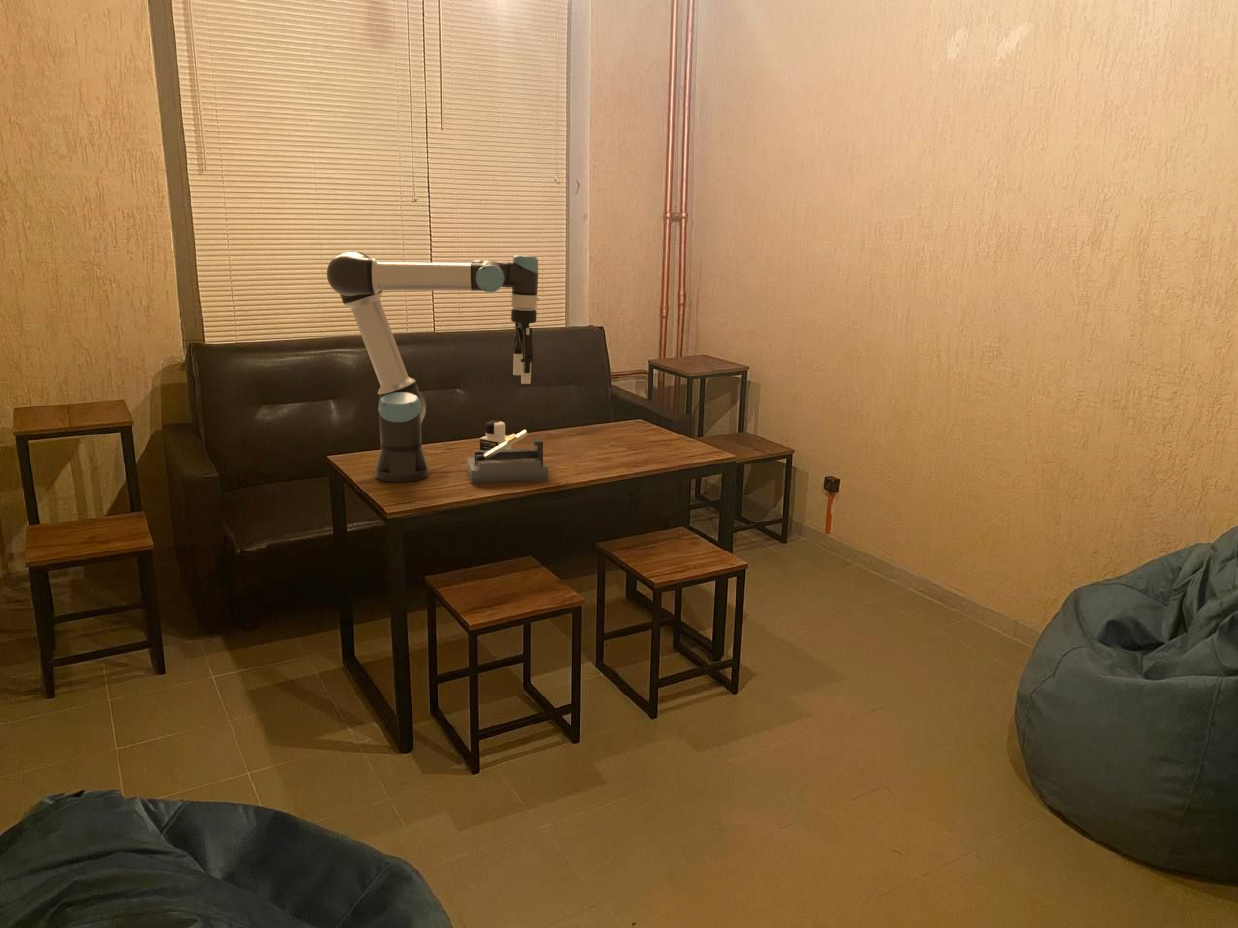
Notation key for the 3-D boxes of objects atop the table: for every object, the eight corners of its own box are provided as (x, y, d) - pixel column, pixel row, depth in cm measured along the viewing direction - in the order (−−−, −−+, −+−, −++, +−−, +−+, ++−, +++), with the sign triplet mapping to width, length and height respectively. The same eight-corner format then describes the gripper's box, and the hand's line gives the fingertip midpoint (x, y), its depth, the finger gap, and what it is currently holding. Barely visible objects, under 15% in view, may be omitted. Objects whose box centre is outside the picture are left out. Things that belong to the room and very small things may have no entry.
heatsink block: (472, 484, 256) (471, 448, 253) (467, 470, 269) (466, 436, 266) (547, 480, 262) (548, 445, 259) (539, 466, 275) (539, 433, 272)
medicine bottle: (479, 459, 280) (479, 422, 277) (492, 454, 286) (492, 418, 283) (498, 463, 277) (498, 425, 274) (511, 458, 283) (511, 421, 280)
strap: (479, 465, 260) (476, 460, 260) (477, 461, 264) (474, 456, 263) (529, 435, 262) (525, 430, 261) (526, 432, 265) (523, 427, 265)
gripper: (545, 314, 256) (542, 387, 262) (528, 304, 279) (526, 371, 285) (519, 313, 254) (516, 387, 260) (504, 303, 277) (502, 371, 282)
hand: (521, 379), depth 272 cm, fingers open, 13 cm apart
